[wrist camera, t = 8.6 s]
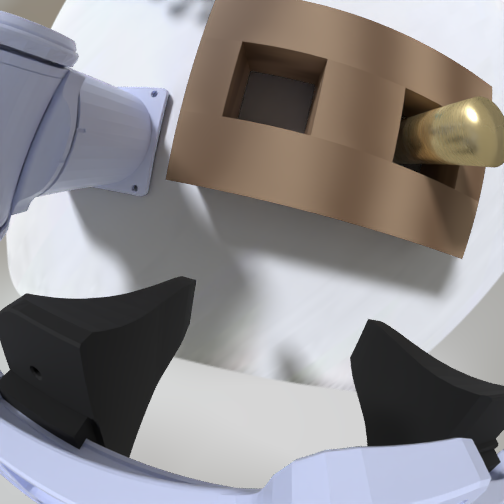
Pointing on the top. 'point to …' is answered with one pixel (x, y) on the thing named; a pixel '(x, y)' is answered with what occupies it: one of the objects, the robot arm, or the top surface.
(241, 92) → the hole block
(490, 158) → the peg
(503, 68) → the top surface
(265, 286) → the top surface
